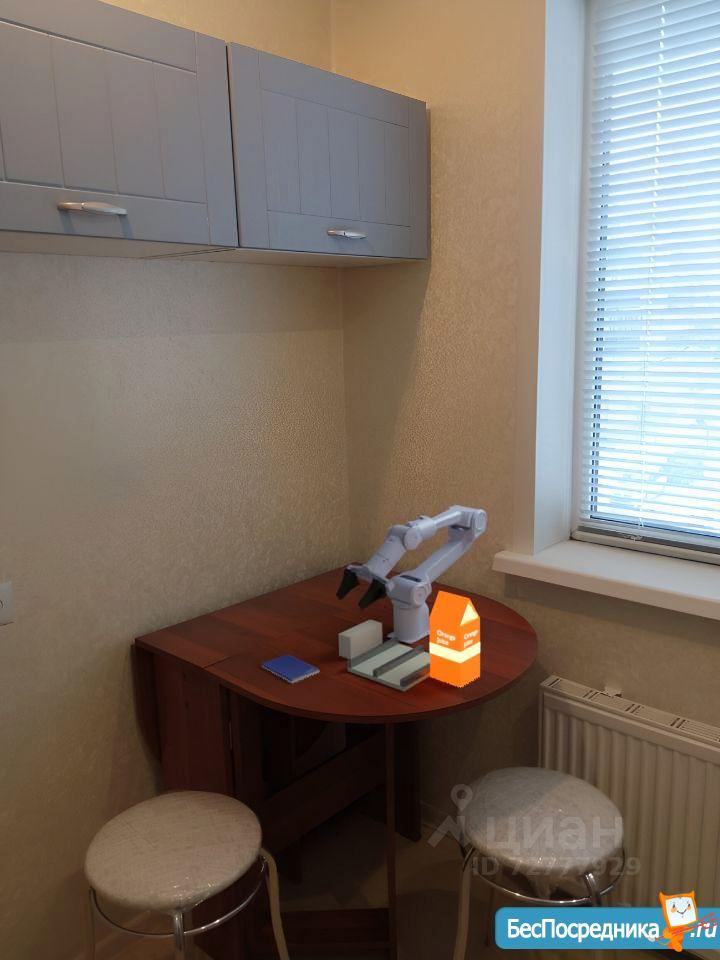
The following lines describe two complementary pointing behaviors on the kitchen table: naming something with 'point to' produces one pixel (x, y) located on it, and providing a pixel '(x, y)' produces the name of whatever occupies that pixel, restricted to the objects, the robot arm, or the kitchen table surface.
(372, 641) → the clay bar
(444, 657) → the orange juice
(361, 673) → the rack
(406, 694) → the kitchen table surface
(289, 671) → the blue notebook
